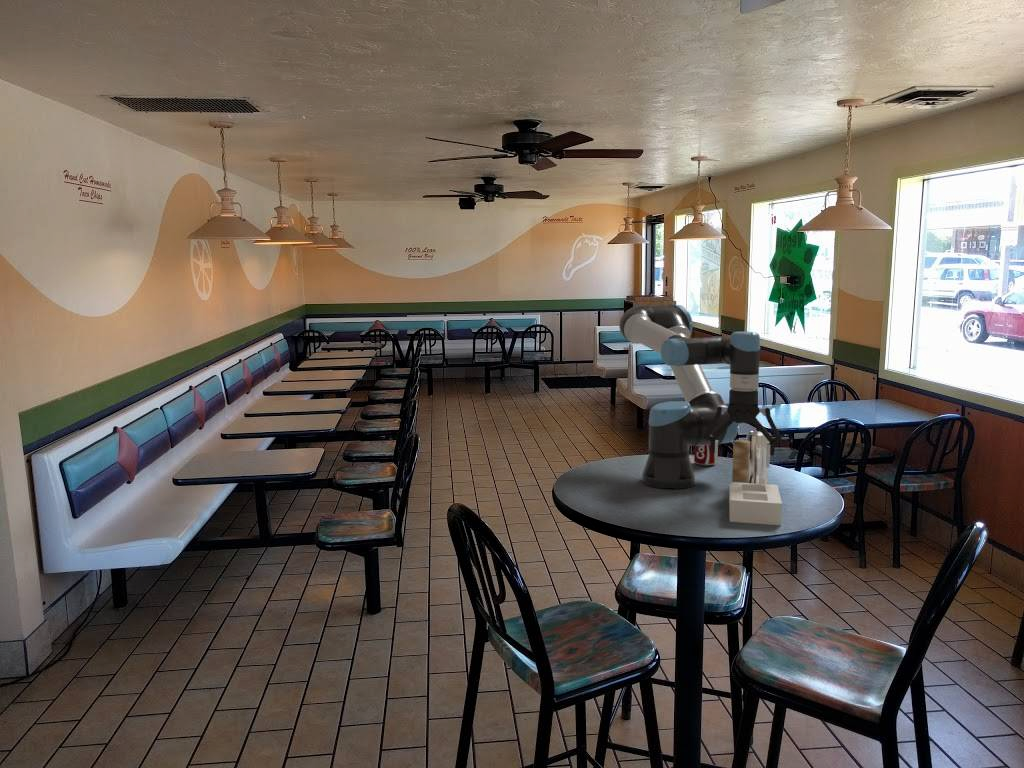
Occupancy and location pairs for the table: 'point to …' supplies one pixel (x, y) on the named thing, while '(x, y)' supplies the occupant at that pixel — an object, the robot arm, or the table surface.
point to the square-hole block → (755, 503)
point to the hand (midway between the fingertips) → (741, 465)
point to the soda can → (704, 455)
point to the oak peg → (741, 461)
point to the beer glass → (757, 457)
